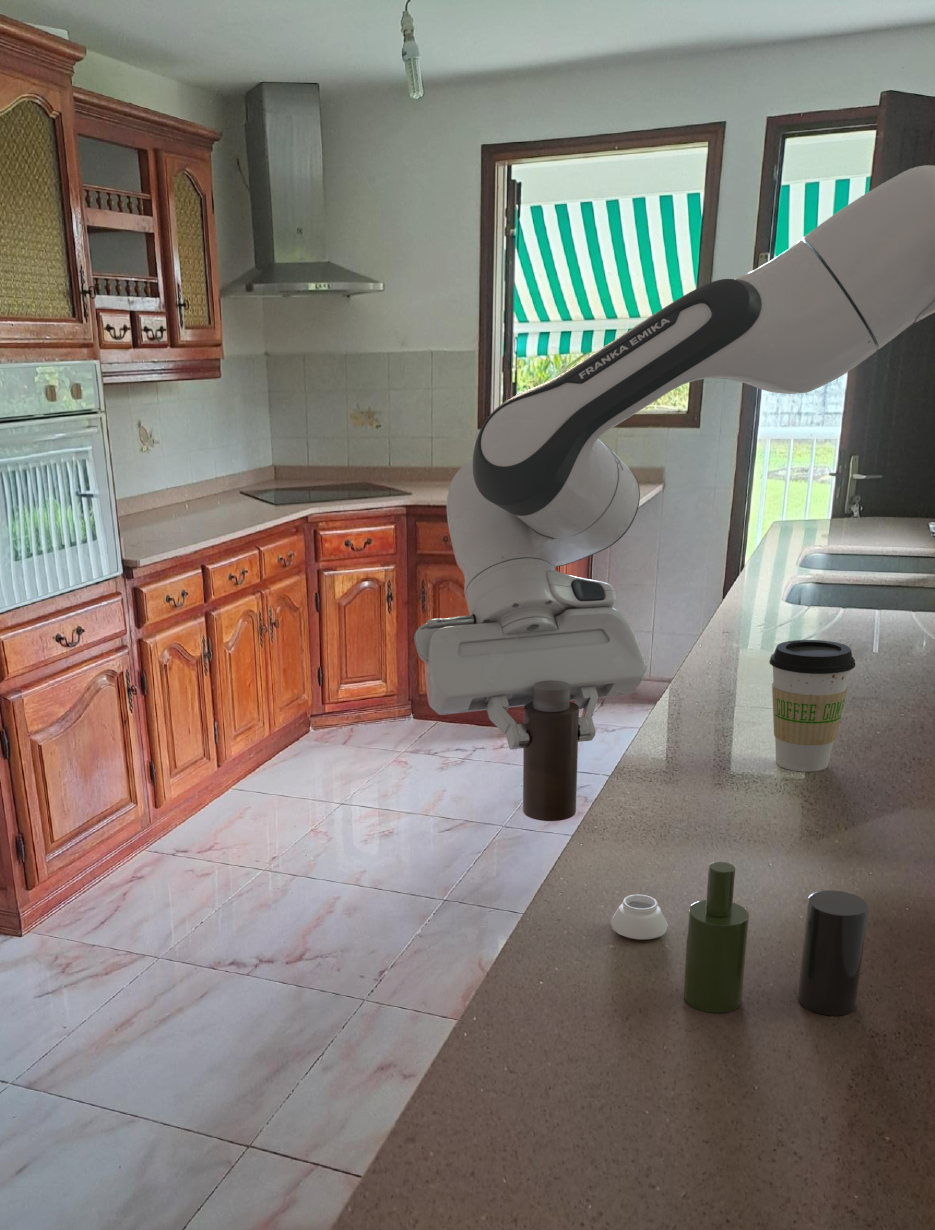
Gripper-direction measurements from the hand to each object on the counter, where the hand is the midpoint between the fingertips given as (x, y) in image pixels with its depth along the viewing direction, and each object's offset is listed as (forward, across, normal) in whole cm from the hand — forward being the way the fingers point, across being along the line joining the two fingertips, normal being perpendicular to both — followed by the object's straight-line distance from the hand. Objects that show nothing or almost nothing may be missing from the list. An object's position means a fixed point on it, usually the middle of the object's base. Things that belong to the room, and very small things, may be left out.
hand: (553, 742), depth 100 cm
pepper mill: (+4, 0, +5) cm, 7 cm away
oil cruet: (+24, +8, +1) cm, 25 cm away
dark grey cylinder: (+26, +16, -1) cm, 31 cm away
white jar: (+15, +7, +10) cm, 20 cm away
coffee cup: (-9, +46, +35) cm, 58 cm away
